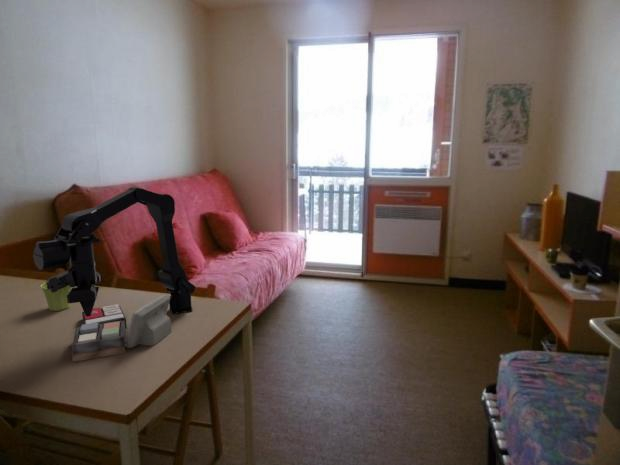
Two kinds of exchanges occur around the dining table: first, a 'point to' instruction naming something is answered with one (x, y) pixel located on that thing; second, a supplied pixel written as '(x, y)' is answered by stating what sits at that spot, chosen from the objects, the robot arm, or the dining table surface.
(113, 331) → the key sage
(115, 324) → the key terracotta
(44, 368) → the dining table surface
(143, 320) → the digital clock
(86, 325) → the key slate
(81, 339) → the key cream
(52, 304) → the plant pot
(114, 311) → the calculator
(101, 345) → the keypad
